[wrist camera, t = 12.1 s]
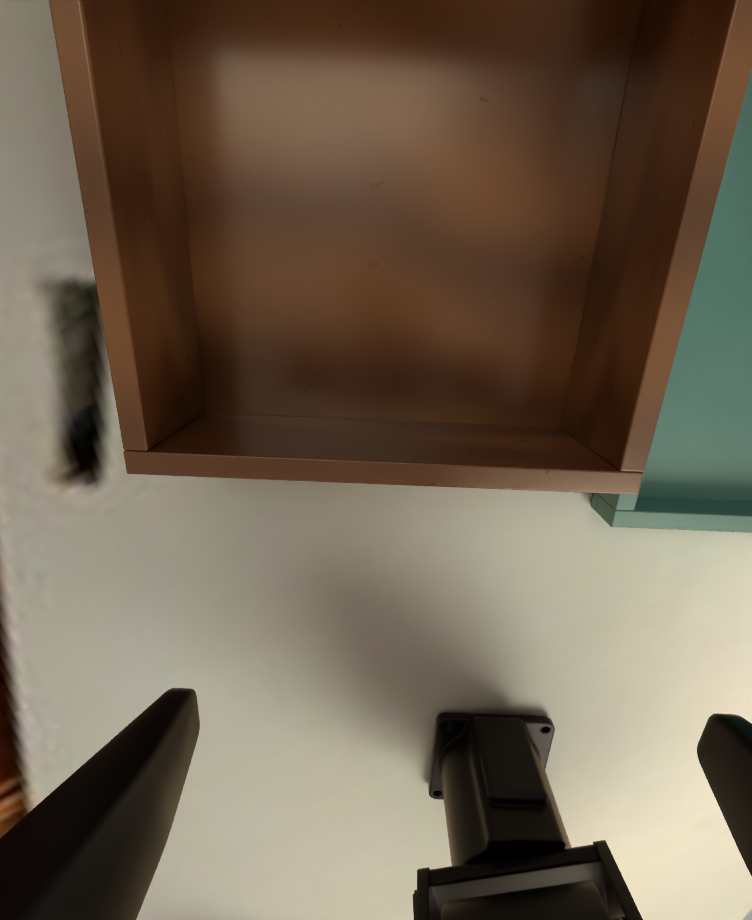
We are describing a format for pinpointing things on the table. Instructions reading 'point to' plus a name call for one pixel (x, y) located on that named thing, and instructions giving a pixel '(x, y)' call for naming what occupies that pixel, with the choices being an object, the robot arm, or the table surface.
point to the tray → (707, 381)
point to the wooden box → (398, 228)
